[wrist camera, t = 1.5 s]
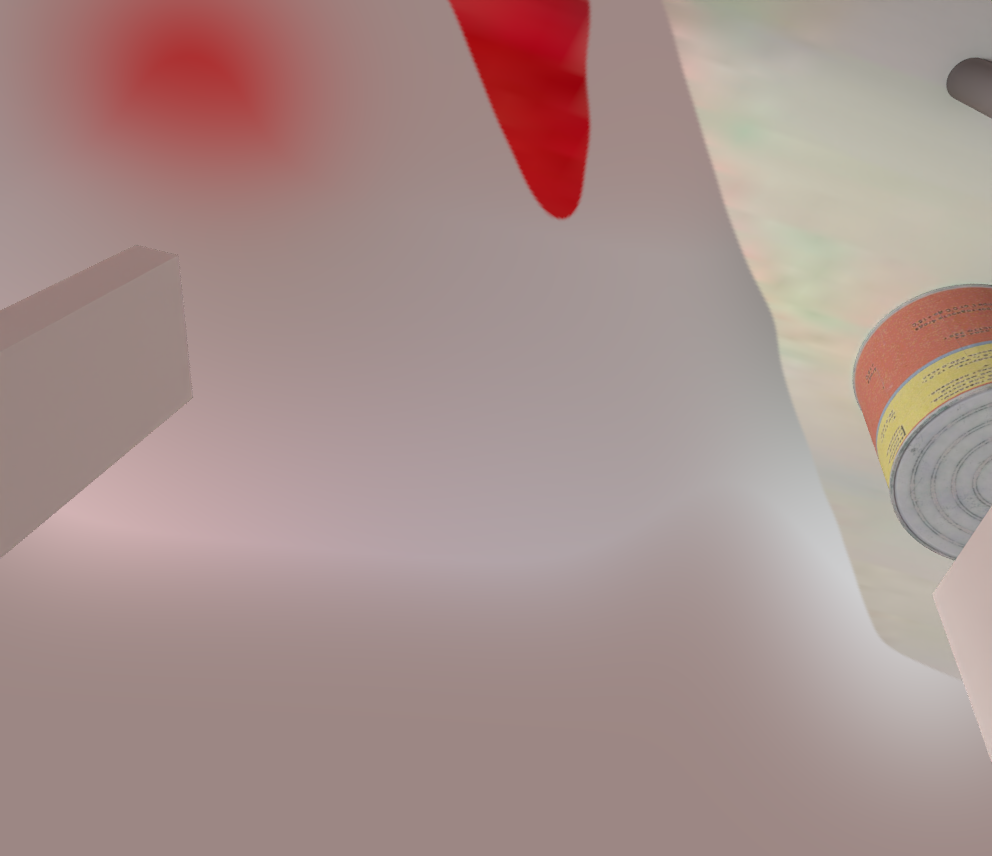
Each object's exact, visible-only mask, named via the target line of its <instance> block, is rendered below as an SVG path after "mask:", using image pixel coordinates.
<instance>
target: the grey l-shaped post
mask: <svg viewBox="0 0 992 856" xmlns="http://www.w3.org/2000/svg"><path fill="white" fill-rule="evenodd" d="M947 90H948V93H949V94H950V95H951V96H952V97H953V98H955V99H956V100H958V101H960V102H962V103H964V104H966V105H968V106H969V107H971V108H973V109H975V110H977V111H979V112H981V113H983V114H984V115H986V116H988V117H990V118H992V62H989V61H986V60H983V59H980V58H969V59H966V60H964V61H962V62H960V63H959V64H957V65H956V66H955V67H954V68H953V69H952V71H951V72H950V74H949V76H948V78H947Z"/></svg>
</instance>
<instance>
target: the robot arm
mask: <svg viewBox="0 0 992 856" xmlns="http://www.w3.org/2000/svg"><path fill="white" fill-rule="evenodd" d="M189 365H190V364H189V354H188V344H187V335H186V325H185V315H184V305H183V295H182V285H181V276H180V266H179V256H178V255H176V254H172V253H168V252H164V251H160V250H156V249H152V248H147V247H143V246H139V245H134V246H133V247H130V248H128V249H126V250H124V251H122V252H120V253H118V254H116V255H114V256H112V257H110V258H108V259H106V260H103V261H101V262H99V263H97V264H95V265H93V266H91V267H89V268H87V269H85V270H83V271H81V272H79V273H77V274H75V275H73V276H70V277H68V278H66V279H64V280H62V281H60V282H58V283H56V284H54V285H52V286H50V287H48V288H46V289H44V290H42V291H39V292H38V293H35V294H33V295H31V296H29V297H27V298H25V299H23V300H21V301H19V302H17V303H15V304H13V305H11V306H9V307H7V308H4V309H2V310H0V558H1V557H3V556H4V555H5V554H6V553H8V552H9V551H10V550H11V549H12V548H14V547H15V546H16V545H17V544H18V543H20V542H21V541H22V540H23V539H24V538H25V537H27V536H28V535H29V534H30V533H32V532H33V530H35V529H36V528H37V527H39V526H40V525H41V524H42V523H43V522H45V521H46V520H47V519H48V518H49V517H51V516H52V515H53V514H54V513H55V512H57V511H58V510H59V509H60V508H61V507H62V506H64V505H65V504H66V503H67V502H69V501H70V500H71V499H72V498H73V497H75V496H76V495H77V494H78V493H79V492H81V491H82V490H83V489H84V488H85V487H87V486H88V485H89V484H90V483H91V482H93V480H95V479H96V478H97V477H99V476H100V475H101V474H102V473H103V472H105V471H106V470H107V469H108V468H109V467H111V466H112V465H113V464H114V463H115V462H116V461H118V460H119V459H120V458H121V457H123V456H124V455H125V454H126V453H127V452H129V451H130V450H131V449H132V448H133V447H135V445H137V444H138V443H139V442H141V441H142V440H143V439H144V438H145V437H147V436H148V435H149V434H150V433H151V432H153V431H154V430H155V429H156V428H157V427H159V426H160V425H161V424H162V423H163V422H164V421H166V420H167V419H168V418H169V417H170V416H171V415H173V414H174V413H175V412H177V411H178V410H179V409H180V408H181V407H182V406H184V405H185V404H186V403H187V402H189V401H190V400H191V399H192V398H193V394H192V383H191V374H190V366H189ZM932 596H933V599H934V601H935V604H936V607H937V610H938V613H939V615H940V618H941V621H942V624H943V627H944V629H945V632H946V635H947V638H948V641H949V644H950V646H951V649H952V652H953V655H954V658H955V660H956V663H957V666H958V669H959V672H960V674H961V677H962V680H963V683H964V686H965V688H966V691H967V694H968V697H969V699H970V702H971V705H972V708H973V711H974V714H975V717H976V719H977V722H978V725H979V728H980V731H981V734H982V736H983V739H984V742H985V745H986V747H987V750H988V753H989V756H990V759H991V762H992V506H991V508H990V509H989V511H988V512H987V514H986V515H985V517H984V518H983V520H982V521H981V523H980V524H979V526H978V527H977V529H976V530H975V532H974V533H973V535H972V536H971V538H970V539H969V541H968V542H967V544H966V545H965V547H964V548H963V550H962V551H961V552H960V554H959V555H958V557H957V558H956V560H955V561H954V563H953V564H952V566H951V567H950V569H949V570H948V572H947V573H946V575H945V576H944V578H943V579H942V581H941V582H940V584H939V585H938V587H937V588H936V590H935V591H934V593H933V594H932Z"/></svg>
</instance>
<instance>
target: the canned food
mask: <svg viewBox="0 0 992 856" xmlns="http://www.w3.org/2000/svg"><path fill="white" fill-rule="evenodd" d="M853 388H854V393H855V397H856V400H857V403H858V405H859V407H860V409H861V411H862V412H863V415H864V418H865V421H866V424H867V427H868V430H869V433H870V435H871V438H872V441H873V444H874V447H875V450H876V453H877V456H878V459H879V462H880V464H881V467H882V470H883V473H884V476H885V479H886V482H887V485H888V488H889V492H890V498H891V502H892V505H893V508H894V511H895V513H896V515H897V518H898V520H899V521H900V523H901V524H902V526H903V527H904V528H905V529H906V531H907V532H908V533H909V534H910V535H911V536H912V537H913V538H914V539H915V540H917V541H918V542H919V543H921V544H922V545H923V546H925V547H926V548H928V549H930V550H931V551H933V552H935V553H937V554H939V555H941V556H944V557H946V558H949V559H952V560H956V558H957V557H958V555H959V554H960V552H961V551H962V550H963V548H964V547H965V545H966V544H967V542H968V541H969V539H970V538H971V536H972V535H973V533H974V532H975V530H976V529H977V527H978V526H979V524H980V523H981V521H982V520H983V518H984V517H985V515H986V514H987V512H988V511H989V509H990V508H991V506H992V285H983V284H964V285H955V286H949V287H944V288H940V289H936V290H933V291H930V292H927V293H924V294H922V295H920V296H917V297H915V298H913V299H911V300H909V301H907V302H905V303H904V304H902V305H900V306H899V307H897V308H896V309H894V310H893V311H892V312H890V313H889V314H888V315H887V316H886V317H884V318H883V319H882V320H881V321H880V322H879V323H878V324H877V325H876V326H875V327H874V328H873V330H872V331H871V332H870V333H869V335H868V336H867V338H866V339H865V341H864V342H863V344H862V346H861V348H860V350H859V352H858V355H857V358H856V361H855V364H854V370H853Z"/></svg>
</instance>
